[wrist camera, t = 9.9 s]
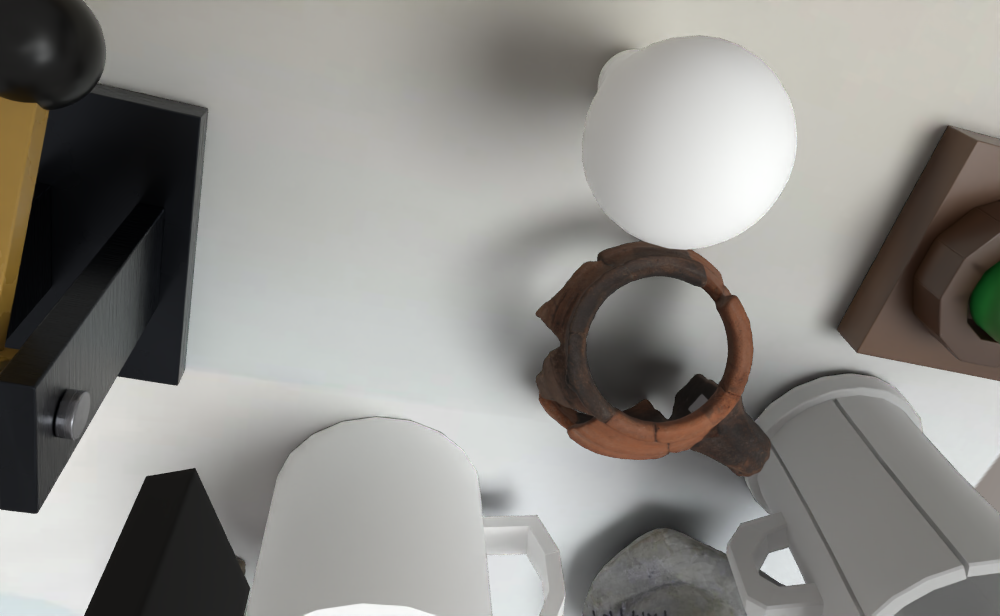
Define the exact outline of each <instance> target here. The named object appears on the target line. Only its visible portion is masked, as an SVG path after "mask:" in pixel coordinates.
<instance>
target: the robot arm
mask: <svg viewBox="0 0 1000 616" xmlns="http://www.w3.org/2000/svg"><path fill="white" fill-rule="evenodd" d="M249 591H250V587H249V584H248V582H247V580H246V578H245V576H244V574H243V571H242V569H241V567H240V565H239V563H238V560H237V558H236V556H235V554H234V552H233V550H232V547H231V545H230V543H229V541H228V539H227V536H226V534H225V532H224V530H223V528H222V525H221V523H220V521H219V519H218V517H217V515H216V512H215V510H214V508H213V506H212V504H211V501H210V499H209V497H208V495H207V493H206V491H205V488H204V486H203V484H202V482H201V480H200V477H199V475H198V473H197V471H196V469H195V468H193V469H187V470H181V471H175V472H170V473H164V474H158V475H152V476H146V478H145V480H144V483H143V485H142V487H141V489H140V492H139V494H138V496H137V498H136V500H135V503H134V505H133V507H132V509H131V512H130V514H129V516H128V518H127V521H126V523H125V525H124V527H123V530H122V532H121V534H120V536H119V539H118V541H117V543H116V545H115V548H114V550H113V552H112V554H111V557H110V559H109V561H108V563H107V566H106V568H105V570H104V572H103V574H102V577H101V579H100V581H99V583H98V586H97V588H96V590H95V592H94V595H93V597H92V599H91V601H90V604H89V606H88V608H87V610H86V613H85V615H84V616H244V612H245V608H246V604H247V599H248V595H249Z"/></svg>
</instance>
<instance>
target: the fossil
mask: <svg viewBox="0 0 1000 616" xmlns="http://www.w3.org/2000/svg"><path fill="white" fill-rule="evenodd" d="M759 575H760V576H762V577H763V578H765V579H767V580H768V581H770V582H772V583H774V584H775V585H777V586H779V587H782V586H785V585H783V584H781V583H779V582H777V581H776V580H774V579H773V578H771V577H770V576H768V575H767V574H766V573H764V572H762V571H761V570H759ZM583 616H747V614H746V611H745V609H744V606H743V603H742V600H741V597H740V594H739V591H738V588H737V585H736V582H735V579H734V576H733V573H732V570H731V567H730V564H729V561H728V558H727V555H726V554H725V553H723V552H721V551H719V550H716V549H714V548H713V547H711V546H709V545H705V544H703V543H701V542H699V541H697V540H695V539H693V538H692V537H690V536H688V535H685V534H683V533H680V532H678V531H676V530H672V529H669V528H661V529H654V530H652V531H650V532H647V533H645V534H643V535H642V536H640V537H638V538H637V539H635V540H634V541H633V542H632V543H631V544H630V545H628V546H626V547H625V548H624V549H623V550H622V551H620V552H619V553H618V554H617V555H616V556H614V557H613V558H612V559H611V560H610V561H609V562H608V563H607V564H605V565H604V566H603V568H602V569H601V570H600V572H599V573H598V574H597V575H596V577H595V578H594V580H593V582H592V585H591V587H590V590H589V592H588V594H587V597H586V599H585V604H584V608H583Z"/></svg>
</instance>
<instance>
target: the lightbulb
mask: <svg viewBox="0 0 1000 616" xmlns="http://www.w3.org/2000/svg"><path fill="white" fill-rule="evenodd" d="M796 148H797V131H796V121H795V114H794V111H793V108H792V105H791V101H790V98H789V96H788V94H787V93H786V91H785V89H784V87H783V86H782V84H781V82H780V80H779V79H778V77H777V75H776V74H775V73H774V71H773V70H772V69H771V68H770V67H769V66H768V65H767V64H766V63H765V62H764V61H763V60H762V59H761V58H759V57H758V56H756V55H754V54H753V53H751V52H750V51H748V50H747V49H745V48H743V47H742V46H740V45H738V44H736V43H733V42H730V41H727V40H724V39H721V38H716V37H708V36H700V35H699V36H687V37H676V38H670V39H666V40H663V41H660V42H656V43H653V44H651V45H649V46H647V47H645V48H643V49H641V50H638V49H631V50H625V51H622V52H620V53H618V54H616V55H614V56H613V57H612V58H611V59H609V61H608V62H607V63H606V64H605V65H604V67H603V69H602V70H601V73H600V75H599V79H598V92H597V93H596V95H595V96H594V98H593V100H592V103H591V106H590V108H589V111H588V113H587V116H586V121H585V126H584V132H583V138H582V162H583V167H584V171H585V176H586V180H587V182H588V184H589V186H590V188H591V191H592V193H593V195H594V197H595V199H596V201H597V203H598V204H599V206H600V207H601V208H602V210H603V211H604V212H605V213H606V215H607V216H608V217H609V218H610V219H611V220H612V221H614V222H615V223H616V224H617V225H618V226H620V227H621V228H622V229H623V230H625V231H626V232H627V233H629V234H630V235H632V236H634V237H636V238H638V239H640V240H642V241H644V242H647V243H651V244H654V245H658V246H661V247H665V248H670V249H682V250H688V249H698V248H705V247H709V246H712V245H716V244H719V243H722V242H724V241H727V240H729V239H731V238H733V237H735V236H737V235H739V234H741V233H742V232H744V231H745V230H747V229H748V228H750V227H751V226H753V225H754V224H755V223H756V222H757V221H758V220H760V219H761V218H762V217H763V216H764V215H765V214H766V213H767V212H768V211H769V209H770V208H771V207H772V205H773V204H774V203H775V202H776V200H777V199H778V198H779V196H780V195H781V193H782V191H783V189H784V187H785V185H786V184H787V182H788V180H789V177H790V174H791V171H792V168H793V165H794V162H795V156H796Z"/></svg>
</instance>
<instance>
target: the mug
mask: <svg viewBox="0 0 1000 616" xmlns="http://www.w3.org/2000/svg"><path fill="white" fill-rule="evenodd" d="M517 554H526V555H527V557H528V558H529V560H530V562H531V564H532V565H533V567H534V569H535V571H536V572H537V574H538V576H539V577H540V579H541V581H542V588H543V597H544V605H543V608H542V610H541V613H540V615H539V616H563V611H564V603H565V595H566V592H565V585H564V578H563V572H562V565H561V558H560V551H559V549H558V548H557V546H556V544H555V543H554V541H553V539H552V538H551V536H550V535H549V533H548V531H547V530H546V528H545V527H544V525H543V523H542V522H541V520H540V519H539V517H538V515H525V516H490V517H483V512H482V501H481V493H480V487H479V480H478V474H477V471H476V469H475V468H474V466H473V465H472V463H471V462H470V460H469V458H468V457H467V455H466V454H465V452H464V450H463V449H461V448H460V447H459V446H457V445H456V444H455V443H454V442H452V441H451V440H450V439H448V438H447V437H446V436H445V435H443V434H442V433H441V432H439V431H436V430H433V429H431V428H428V427H426V426H423V425H420V424H418V423H415V422H413V421H409V420H400V419H391V418H382V417H372V418H365V419H358V420H351V421H344V422H340V423H338V424H336V425H333V426H331V427H329V428H326V429H324V430H322V431H319V432H317V433H315V434H312V435H311V436H310V437H309V438H308V439H307V440H305V441H304V442H303V443H302V444H301V445H299V446H298V447H297V448H296V449H295V450H294V451H292V452H291V453H290V455H289V456H288V458H287V460H286V462H285V464H284V465H283V467H282V469H281V471H280V473H279V474H278V476H277V480H276V484H275V489H274V493H273V497H272V502H271V506H270V510H269V515H268V519H267V524H266V528H265V532H264V537H263V541H262V545H261V550H260V554H259V558H258V563H257V567H256V572H255V576H254V580H253V585H252V589H251V593H250V598H249V602H248V607H247V611H246V615H245V616H492V606H491V596H490V585H489V575H488V564H487V555H517Z"/></svg>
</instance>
